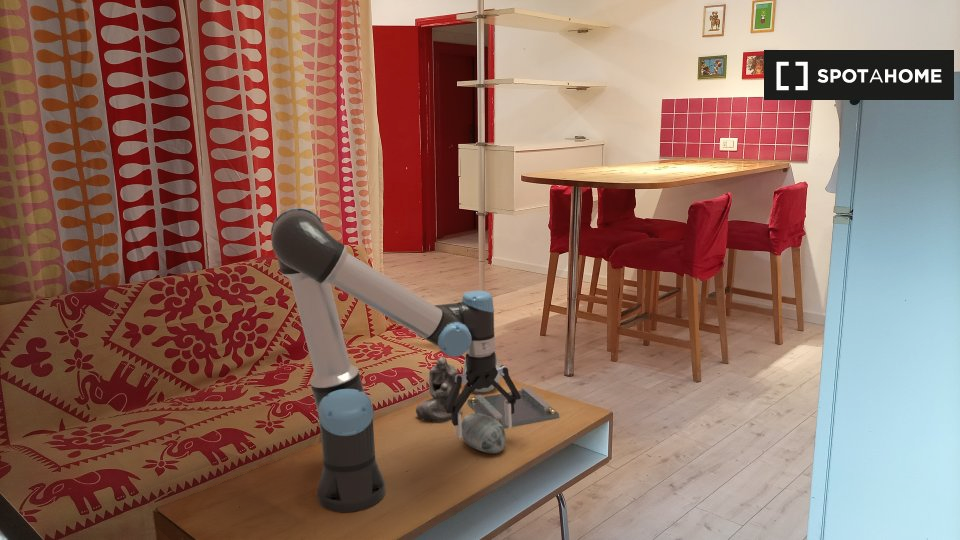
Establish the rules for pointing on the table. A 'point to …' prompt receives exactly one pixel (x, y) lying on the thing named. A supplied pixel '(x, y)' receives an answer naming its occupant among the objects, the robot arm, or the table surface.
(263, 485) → the table surface
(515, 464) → the table surface
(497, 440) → the grey rock
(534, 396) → the carrier
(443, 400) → the figurine
